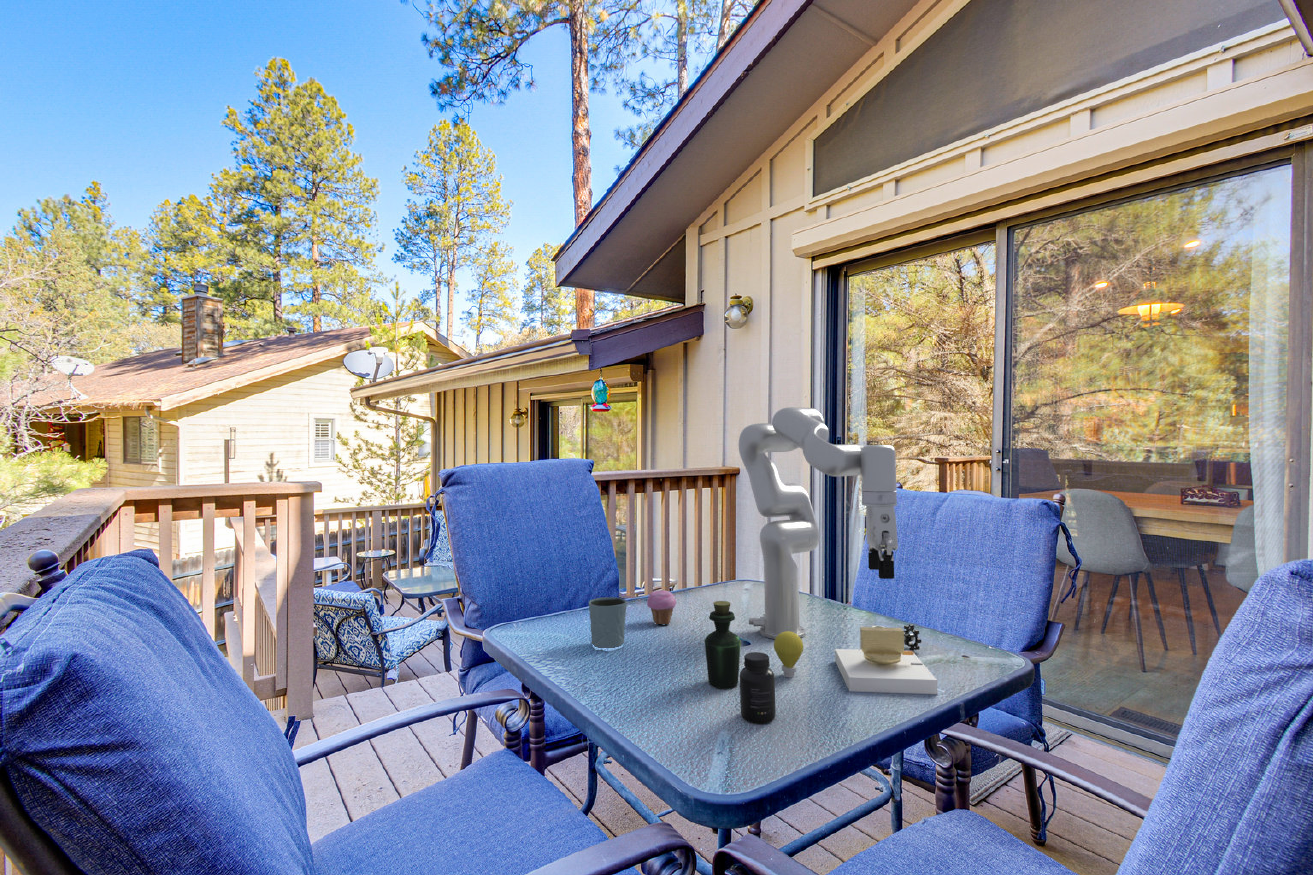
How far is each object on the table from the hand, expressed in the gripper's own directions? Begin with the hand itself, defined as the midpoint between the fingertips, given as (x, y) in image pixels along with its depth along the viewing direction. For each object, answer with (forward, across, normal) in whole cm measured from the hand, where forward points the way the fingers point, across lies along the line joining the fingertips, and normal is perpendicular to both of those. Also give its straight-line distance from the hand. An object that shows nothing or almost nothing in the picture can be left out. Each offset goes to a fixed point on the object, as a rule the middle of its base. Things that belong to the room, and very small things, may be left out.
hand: (881, 573), depth 137 cm
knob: (+20, 0, -1) cm, 20 cm away
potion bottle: (+24, -7, +36) cm, 44 cm away
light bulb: (+24, -1, +21) cm, 32 cm away
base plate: (+23, 0, 0) cm, 23 cm away
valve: (+24, +17, -6) cm, 30 cm away
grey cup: (+23, +16, +67) cm, 73 cm away
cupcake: (+23, +37, +55) cm, 70 cm away
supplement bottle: (+24, -23, +29) cm, 44 cm away
